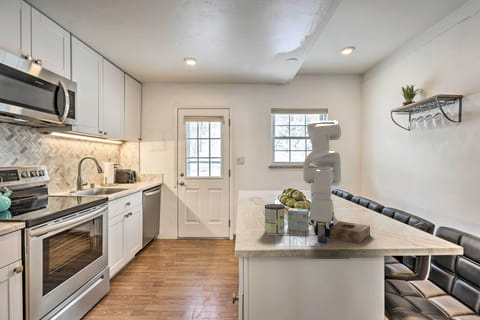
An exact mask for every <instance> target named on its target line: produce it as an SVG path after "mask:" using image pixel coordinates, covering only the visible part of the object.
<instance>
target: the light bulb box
mask: <svg viewBox="0 0 480 320" xmlns="http://www.w3.org/2000/svg"><path fill="white" fill-rule="evenodd" d="M309 215H310V213H309V209H308V208H291V207H290V208H288V210H287V230H288V231H298V232H309V228H310V227H309V225H310V223H309V220H308V217H309Z"/></svg>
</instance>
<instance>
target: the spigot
mask: <svg viewBox="0 0 480 320" xmlns="http://www.w3.org/2000/svg"><path fill="white" fill-rule="evenodd" d="M326 229H327V227H326V222H320V221H318V222H317V236H316V237H317V238H316V239H317V241H316V242H318V243H321V244H327V243H328V238H326Z"/></svg>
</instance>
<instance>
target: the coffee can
mask: <svg viewBox="0 0 480 320" xmlns="http://www.w3.org/2000/svg"><path fill="white" fill-rule="evenodd" d="M264 233H265V234H266V235H270V236H282V235H285V233H286V232H285V205H284V204H280V203H279V204H278V203H269V204H265V205H264Z"/></svg>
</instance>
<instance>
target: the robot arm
mask: <svg viewBox="0 0 480 320" xmlns="http://www.w3.org/2000/svg"><path fill="white" fill-rule="evenodd" d="M306 128H307V135H308V137H309V139H310V142H311V151H310V153H309V154H308V155H307V156H306V157H305V159H304V161H303V170H302V171H303V173H302V174H303V181H304V182H305V183H306V184H309V185H310V209H309V210H310V211H309V217H308V220H309V225H312V226H313V227H314V228H313V229H314V230H313V231H314V236H316V237H317V222H318V221H320V222H326V227H327V229H326V238H327V239H328V238H329V236H330V235H331V227H332V226H334V225H335V224H337V223H338V221H339V220H338V219H337V218H336V216H335V209H334V202H333V199H332V187H338V186H340V184H341V181H342V172H341V171H342V169H341V168H342V167H341V166H342V165H341V164H342V163H341V162H342V161H341V155H340V153H339V151H333V150H332V151H331V149H330V141H338V140H340V139H341V136H342V128H341V125H340V123H339V122H338V121H337V120H318V121H317V120H316V121H310V122H309V123H308V124H307V126H306ZM311 163H312V166H313V167H314V168H313V167H311V168H310V165H311ZM330 168H331V169H330Z"/></svg>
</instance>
